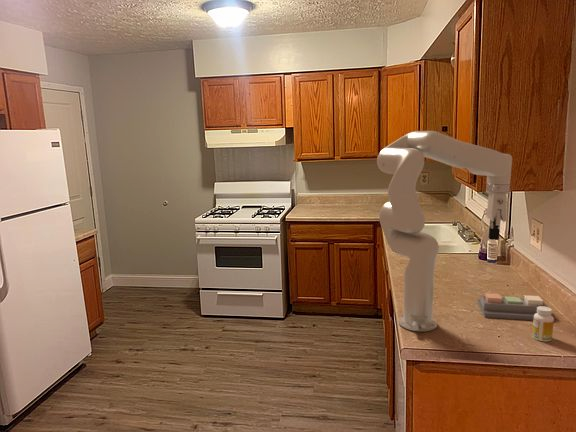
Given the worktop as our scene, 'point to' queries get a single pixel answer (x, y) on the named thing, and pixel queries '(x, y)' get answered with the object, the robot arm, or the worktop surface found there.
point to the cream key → (533, 300)
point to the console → (508, 309)
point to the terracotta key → (493, 298)
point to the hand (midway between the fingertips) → (493, 239)
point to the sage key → (512, 300)
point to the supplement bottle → (543, 324)
